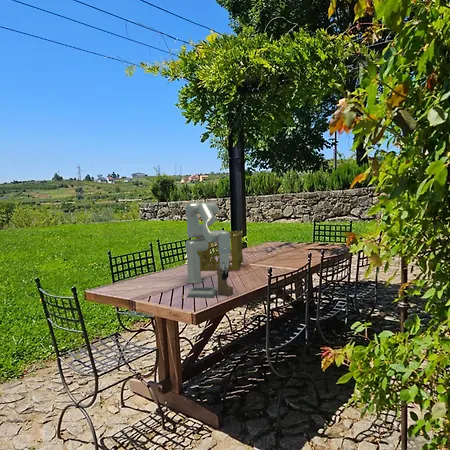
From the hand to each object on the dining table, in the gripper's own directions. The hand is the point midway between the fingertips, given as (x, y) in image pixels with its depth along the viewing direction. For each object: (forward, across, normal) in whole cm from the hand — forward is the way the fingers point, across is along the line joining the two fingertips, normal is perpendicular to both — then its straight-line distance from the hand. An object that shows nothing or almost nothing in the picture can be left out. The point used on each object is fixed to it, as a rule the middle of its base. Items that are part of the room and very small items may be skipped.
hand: (225, 278), depth 254 cm
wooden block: (+11, 0, 0) cm, 11 cm away
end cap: (+10, +1, -15) cm, 18 cm away
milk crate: (+11, -92, -18) cm, 95 cm away
